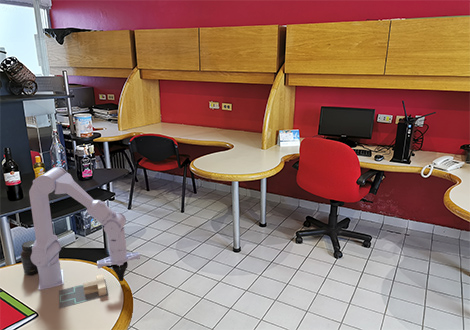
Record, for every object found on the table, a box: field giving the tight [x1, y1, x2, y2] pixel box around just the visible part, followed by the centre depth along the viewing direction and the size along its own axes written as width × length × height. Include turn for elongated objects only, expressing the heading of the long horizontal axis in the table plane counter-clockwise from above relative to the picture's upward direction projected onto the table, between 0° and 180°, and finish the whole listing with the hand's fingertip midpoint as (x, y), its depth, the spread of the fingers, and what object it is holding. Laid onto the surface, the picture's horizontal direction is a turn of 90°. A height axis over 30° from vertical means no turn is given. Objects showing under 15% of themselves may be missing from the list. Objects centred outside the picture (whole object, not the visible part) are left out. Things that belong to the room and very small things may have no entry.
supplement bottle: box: [20, 240, 39, 277], centre depth 132 cm, size 7×7×12 cm
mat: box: [58, 278, 109, 310], centre depth 122 cm, size 10×16×1 cm, turn 116°
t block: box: [82, 273, 107, 296], centre depth 123 cm, size 8×7×3 cm
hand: (120, 279), depth 127 cm, fingers closed
